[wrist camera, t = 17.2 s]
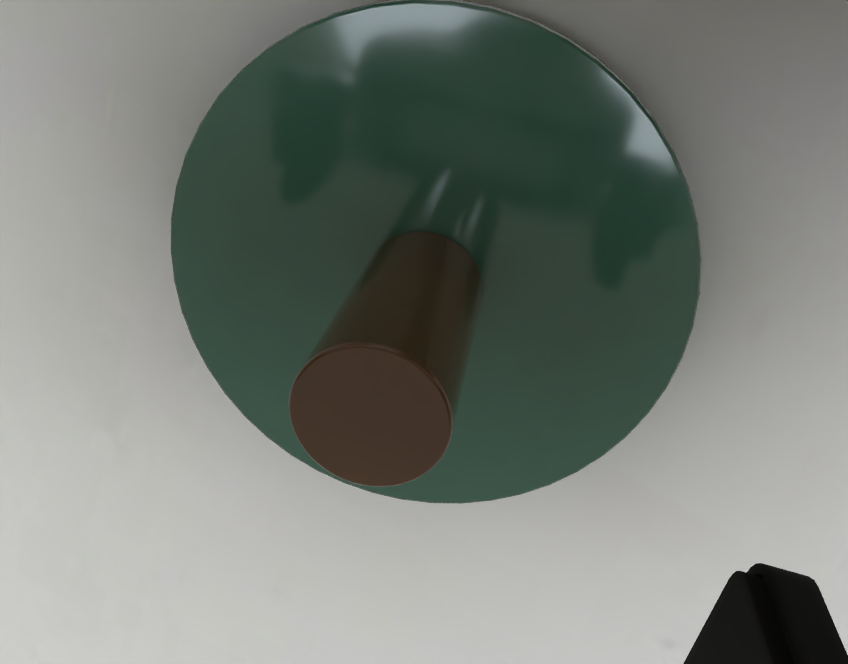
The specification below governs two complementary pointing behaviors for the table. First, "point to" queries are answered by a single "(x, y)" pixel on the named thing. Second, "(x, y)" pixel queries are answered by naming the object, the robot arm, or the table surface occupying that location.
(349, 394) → the lid
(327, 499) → the table surface
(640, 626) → the table surface
